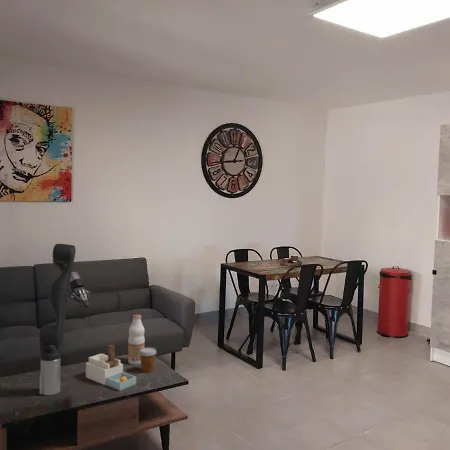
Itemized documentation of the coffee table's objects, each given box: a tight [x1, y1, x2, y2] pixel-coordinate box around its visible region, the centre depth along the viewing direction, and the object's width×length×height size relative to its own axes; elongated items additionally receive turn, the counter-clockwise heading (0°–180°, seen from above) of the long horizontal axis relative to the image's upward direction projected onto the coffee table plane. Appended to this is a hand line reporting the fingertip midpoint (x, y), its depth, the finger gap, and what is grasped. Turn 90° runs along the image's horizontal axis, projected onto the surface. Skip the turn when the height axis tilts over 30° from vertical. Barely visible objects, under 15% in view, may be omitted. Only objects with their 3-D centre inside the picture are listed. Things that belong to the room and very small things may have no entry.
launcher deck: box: [85, 353, 124, 386], centre depth 265 cm, size 12×16×10 cm
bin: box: [105, 371, 137, 391], centre depth 257 cm, size 11×11×4 cm
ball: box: [119, 376, 127, 382], centre depth 256 cm, size 4×4×4 cm
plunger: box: [105, 344, 119, 368], centre depth 261 cm, size 5×4×11 cm
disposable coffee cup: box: [139, 347, 157, 374], centre depth 277 cm, size 10×10×12 cm
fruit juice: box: [127, 314, 146, 366], centre depth 290 cm, size 9×9×28 cm
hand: (87, 306), depth 273 cm, fingers closed
